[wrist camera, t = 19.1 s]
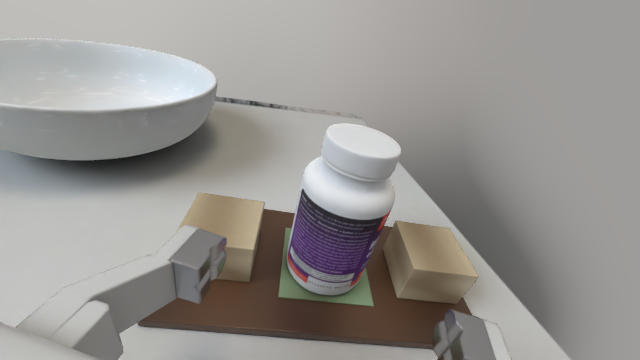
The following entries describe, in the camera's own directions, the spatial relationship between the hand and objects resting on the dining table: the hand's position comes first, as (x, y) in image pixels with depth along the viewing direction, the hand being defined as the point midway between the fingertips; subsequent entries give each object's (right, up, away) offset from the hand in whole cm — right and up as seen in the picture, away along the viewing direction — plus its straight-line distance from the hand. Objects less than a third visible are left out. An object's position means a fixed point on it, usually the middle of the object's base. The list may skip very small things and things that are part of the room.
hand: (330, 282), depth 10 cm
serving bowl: (-22, +8, +19) cm, 30 cm away
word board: (0, -3, +10) cm, 10 cm away
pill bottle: (0, -2, +10) cm, 10 cm away
